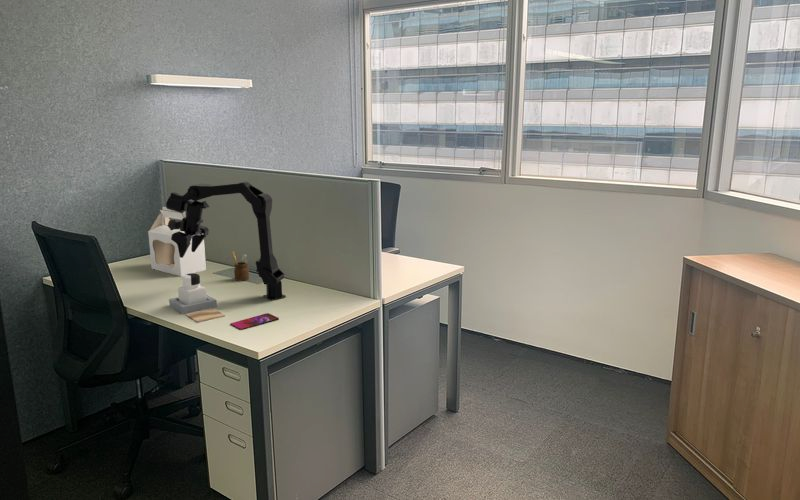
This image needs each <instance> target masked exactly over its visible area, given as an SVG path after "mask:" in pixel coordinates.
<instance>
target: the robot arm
mask: <svg viewBox="0 0 800 500" xmlns="http://www.w3.org/2000/svg"><path fill="white" fill-rule="evenodd" d="M233 194H240V195H242V197H243V198H244V199H245V200H246V201H247V202H248V203H249V204H250V205H251V209H252V212H253V215H254V216H255V218H256V220H257V221H256V223H257V231H258V243H259V251H260V257H259V259H257V260H256V261H255V266H256V270H255V271H256V273H257V274H258V276H259V278H260V279H261V280H262V283H263V284H264V285H265V287H266V290H265V291H266V294H264V295H263V298H266V299H268V300H270V301H274V300H279V299H282V298H286V297H287V296H286V294H283V286H282V285H283V284H282V283H283V282H282V280H284V277H285V273H284V272H283V271H282V269H280V268H279V266H278V265H279V264H278V262H277V259H276V257H275V255H274V253H273V243H272V242H273V240H272V233H271V232H272V230H271V219H270V216H271V212H272V209H273V198H272V196H270V194H268V193H266V192H264V191H262V190H260V189H259V188H257V187H256V186H253V185H252V184H251V183H249V182H248V181H243V182H242V181H241V182H235V183H234V182H233V183H225V184H209V183H208V184H206V183H197V184H193V185H190V186H189V187H188V189H187V191H186V193H185V194H179V193H178V192H176V191H175V192H174V191H172V192H171V193H170V196H168V199H166V200H167V201H166V203H165V207H167V209H169V210H173V211H176V212H179V213H183V212H184V211H186V217H185V218H183V219H182V220H180V219H170V220H169V223H168V225H167V226H168V227H169V228H170V230H175V229H180V231H182V232H180V231H179V232H176V233H174V234H172V236H171V240H173V241H174V242H176V244H177V245H178V250H179V255H180V257H181V258H183V256H184V255H185V253H186V251H187V249H188V247H189V245H190V244H191V243H190V241H191V238H192V247H191V250H192V252H195V251H196V249H197V248H198V246H199V245H200V244H201V242H202V241H203V240H204V241H205V238H207V236H208V235H209V232H210V229H209V228H208V226H204V225H201V224H202V223H203V222H204V219H202V216H203V211H204V210H205V209H208V208H210V205H209V203H208V202H207V201H206V200H203V199H206V198H210V197H212V196H213V197H214V196H223V195H224V196H225V195H233ZM200 200H203V201H200ZM183 231H184V233H183Z"/></svg>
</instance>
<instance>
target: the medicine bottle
mask: <svg viewBox="0 0 800 500" xmlns="http://www.w3.org/2000/svg"><path fill="white" fill-rule="evenodd" d="M181 280H182V286H181V287H178V288H177V292H178V293H177V294H178V297H179V302H181V303H182V304H184V305H189V304H193V303H198V302H203V301H207V300H206V295H207V291H206V286H202V285H201V278H200V274H198V273H190V274H185V275H184V276H181Z"/></svg>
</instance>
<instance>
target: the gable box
mask: <svg viewBox="0 0 800 500" xmlns="http://www.w3.org/2000/svg"><path fill="white" fill-rule="evenodd" d="M159 211H160V212H159V214H157V216H156V218H155V219H154V222H153V224H152V225H151V226H150V228H149V230H148V231H147V233H148V244H149V254H150V255H149V256H150V264H151V265H150V266H151V269H152V270H154V269H155V271H158V270H159V272H163V273H166V274H171V275H174V276H178V277H183V276H184V275H185V274H190V273H195V274H198V273H199V272H204V271H207V265H206V261H207V260H206V250H205V239H204V240H203V241H202V242H201V244H200V245H199V246H198V248H197V249H196V251H195V252H192V250H191V247H192V238H191V241H190V243H191V244H190V245H189V247H188V249H187V251H186V253H185V255H184V256H183V258H181V257H180V255H179V250H178V245H177V244H176V242H174V241H173V240H171V236H172V234H174V233H176V232H179V231H180V229H175V230H170V228H169V227H168V226H167V225H168V223H169V220H171V219H173V220H182V219H183V218H185V217H186V211H184V212H183V213H179V212H176V211H173V210H169V209H167V207H166V206H162V209H159ZM170 218H171V219H170ZM180 232H182V231H180ZM183 233H184V231H183Z"/></svg>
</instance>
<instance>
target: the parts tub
mask: <svg viewBox="0 0 800 500" xmlns="http://www.w3.org/2000/svg"><path fill="white" fill-rule="evenodd" d="M206 300H207V301H203V302H198V303H193V304H189V305H184V304H182V303H181V302H179V296H177V297H176V296H175V297H172V298H171V297H170V298H168V303H169V306H170V307H171V308H173V309H175V310H177V311H178V312H179V313H181V314H182V315H186V314H188V313H193V312H197V311H202V310H206V309H211V308H216V307H217V306H218V305H217V303H218V302H217V299H215V298H213V297H211V296H210V295H208V294H206ZM217 308H218V307H217Z"/></svg>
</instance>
